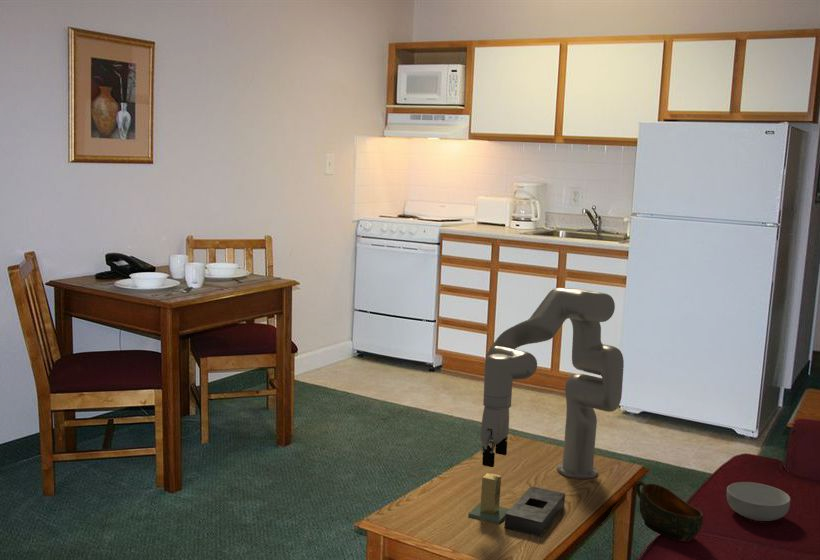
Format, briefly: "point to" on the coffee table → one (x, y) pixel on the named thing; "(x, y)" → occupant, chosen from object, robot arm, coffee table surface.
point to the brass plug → (490, 493)
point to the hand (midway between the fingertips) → (494, 460)
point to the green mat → (492, 518)
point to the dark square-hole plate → (535, 511)
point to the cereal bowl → (758, 501)
